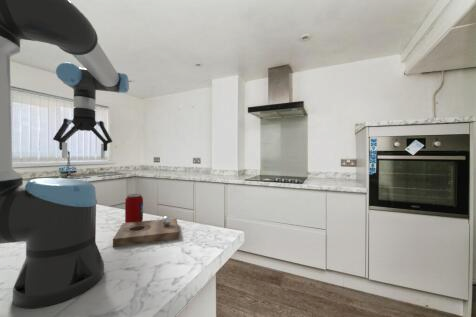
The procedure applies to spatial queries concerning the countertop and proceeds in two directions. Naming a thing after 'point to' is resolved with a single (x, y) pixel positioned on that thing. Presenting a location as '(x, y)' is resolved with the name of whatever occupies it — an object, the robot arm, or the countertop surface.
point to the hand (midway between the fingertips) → (84, 158)
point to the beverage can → (134, 208)
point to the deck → (145, 232)
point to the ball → (166, 220)
